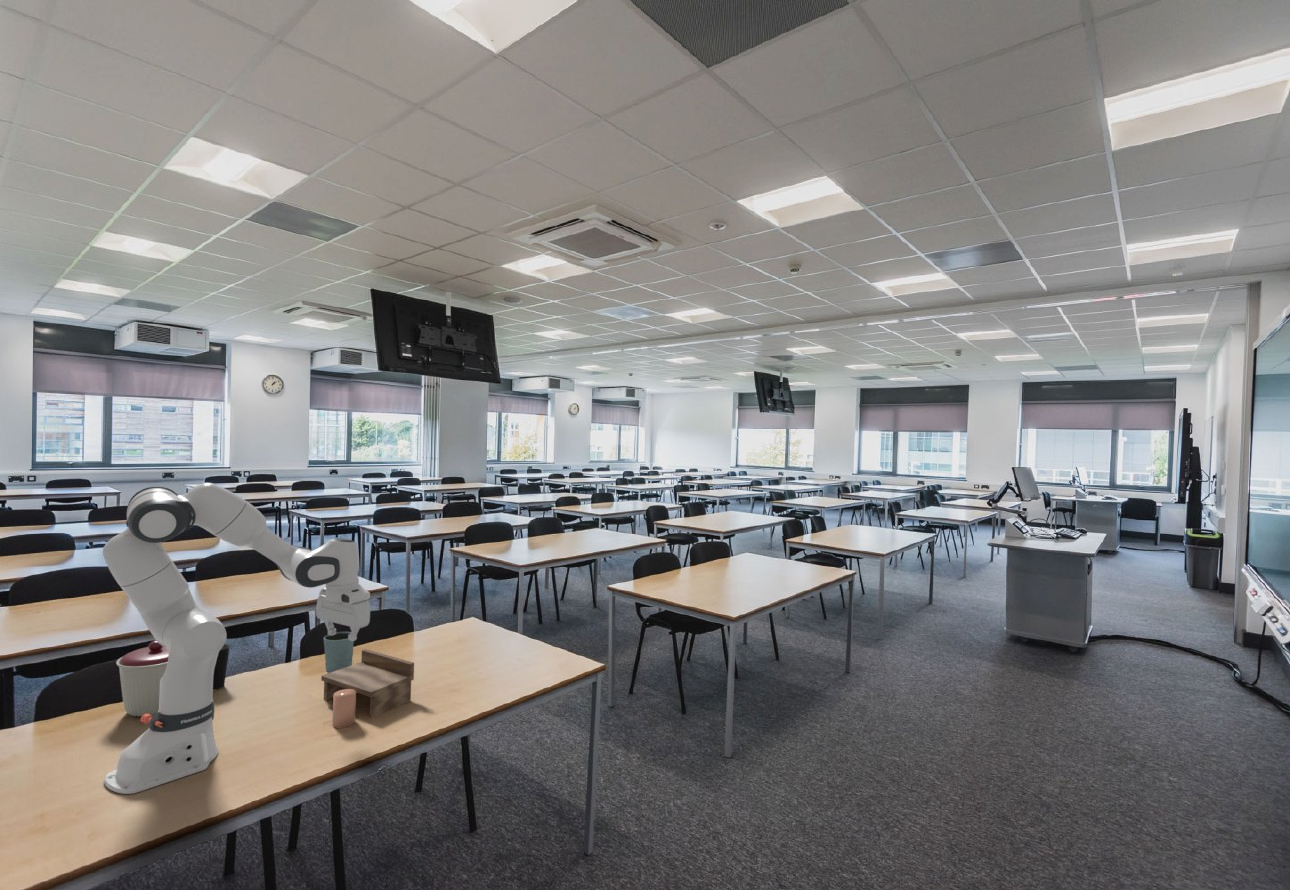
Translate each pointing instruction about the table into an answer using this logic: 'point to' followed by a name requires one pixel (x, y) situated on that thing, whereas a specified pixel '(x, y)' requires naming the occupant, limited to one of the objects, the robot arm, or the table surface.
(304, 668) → the table surface
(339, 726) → the pink pillar candle
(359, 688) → the shelf
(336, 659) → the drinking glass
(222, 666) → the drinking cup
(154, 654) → the canister
